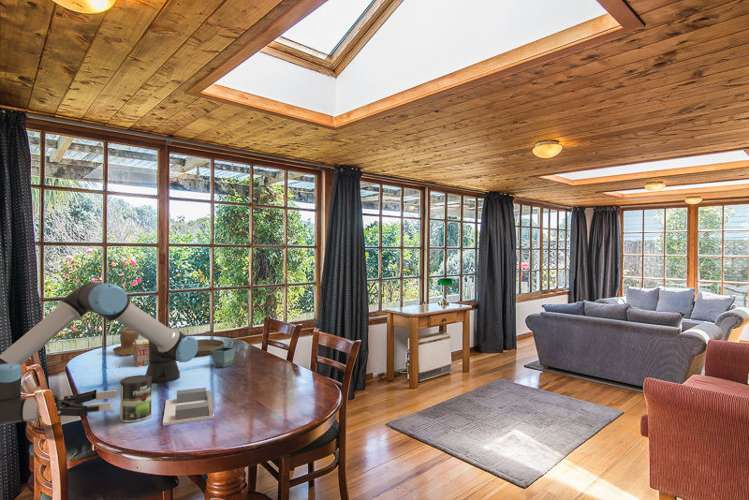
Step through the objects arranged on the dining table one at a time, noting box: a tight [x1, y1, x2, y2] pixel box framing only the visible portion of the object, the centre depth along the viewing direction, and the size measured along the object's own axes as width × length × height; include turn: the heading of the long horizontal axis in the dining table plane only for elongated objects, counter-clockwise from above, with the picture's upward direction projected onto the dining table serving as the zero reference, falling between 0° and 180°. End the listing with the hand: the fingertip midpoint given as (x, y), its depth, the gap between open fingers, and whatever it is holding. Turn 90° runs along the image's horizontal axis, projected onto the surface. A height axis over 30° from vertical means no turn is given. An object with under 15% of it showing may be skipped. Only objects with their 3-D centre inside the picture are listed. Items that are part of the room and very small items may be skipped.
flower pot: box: [211, 346, 236, 368], centre depth 228 cm, size 9×9×9 cm
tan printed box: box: [132, 338, 149, 368], centre depth 236 cm, size 21×6×12 cm, turn 34°
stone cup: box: [112, 327, 140, 356], centre depth 253 cm, size 15×12×15 cm
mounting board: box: [162, 396, 215, 427], centre depth 167 cm, size 17×25×1 cm
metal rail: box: [206, 389, 214, 416], centre depth 170 cm, size 2×24×2 cm, turn 23°
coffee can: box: [119, 374, 153, 423], centre depth 160 cm, size 10×10×14 cm
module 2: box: [175, 402, 208, 420], centre depth 159 cm, size 11×5×4 cm, turn 113°
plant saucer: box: [194, 338, 226, 358], centre depth 259 cm, size 31×31×5 cm
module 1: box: [176, 387, 207, 403], centre depth 175 cm, size 11×5×4 cm, turn 113°
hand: (113, 399), depth 157 cm, fingers open, 13 cm apart
